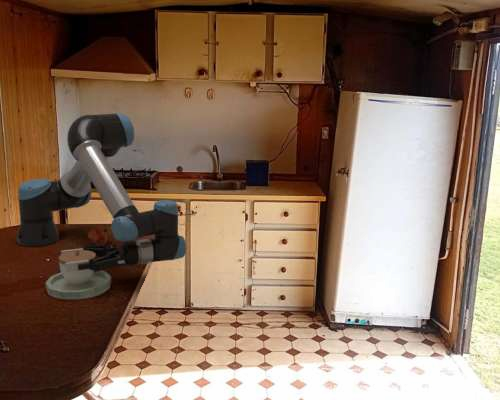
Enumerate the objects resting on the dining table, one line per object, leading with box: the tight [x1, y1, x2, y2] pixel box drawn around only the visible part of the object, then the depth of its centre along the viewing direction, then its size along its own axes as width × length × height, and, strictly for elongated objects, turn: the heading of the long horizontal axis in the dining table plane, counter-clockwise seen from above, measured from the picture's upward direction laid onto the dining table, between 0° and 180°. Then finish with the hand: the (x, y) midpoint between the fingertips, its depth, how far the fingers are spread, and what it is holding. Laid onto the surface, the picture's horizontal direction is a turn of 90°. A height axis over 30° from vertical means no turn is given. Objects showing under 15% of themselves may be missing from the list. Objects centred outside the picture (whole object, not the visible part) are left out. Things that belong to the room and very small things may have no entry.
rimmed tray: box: [45, 270, 112, 301], centre depth 160 cm, size 18×18×2 cm
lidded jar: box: [58, 250, 97, 284], centre depth 159 cm, size 11×11×9 cm
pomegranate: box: [87, 228, 108, 245], centre depth 198 cm, size 7×7×10 cm
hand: (63, 261), depth 157 cm, fingers closed on lidded jar, 11 cm apart
